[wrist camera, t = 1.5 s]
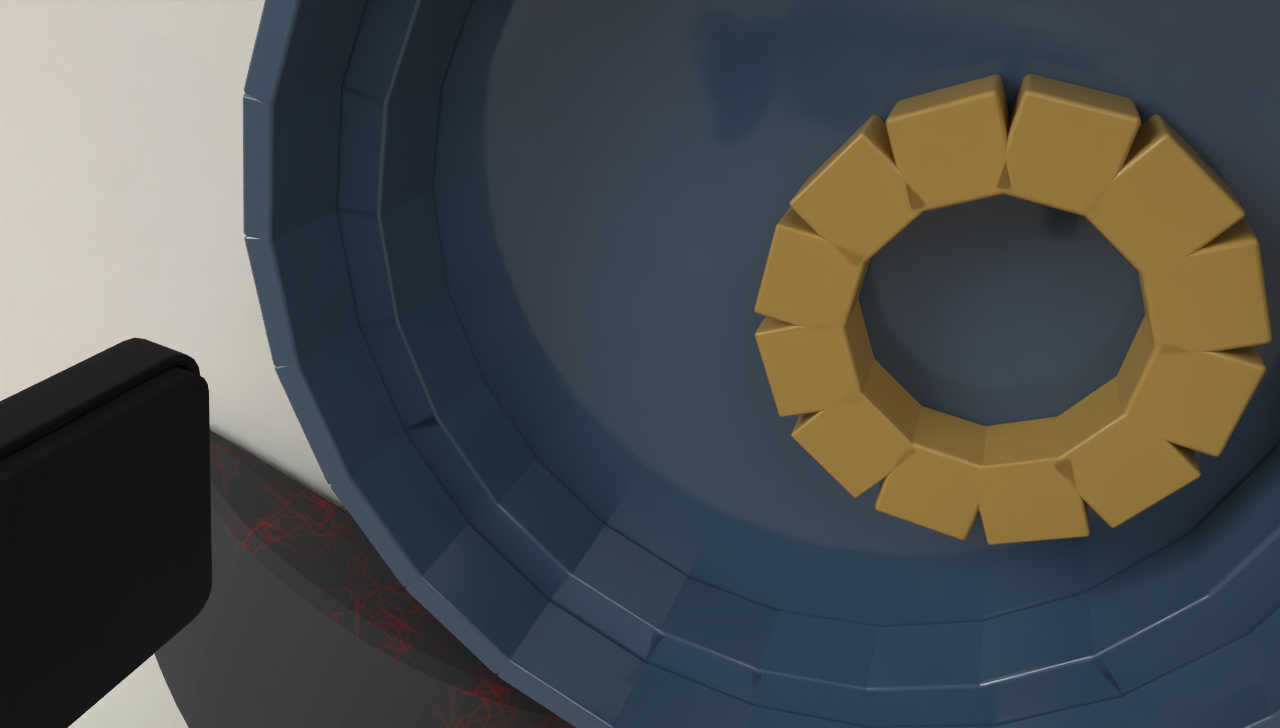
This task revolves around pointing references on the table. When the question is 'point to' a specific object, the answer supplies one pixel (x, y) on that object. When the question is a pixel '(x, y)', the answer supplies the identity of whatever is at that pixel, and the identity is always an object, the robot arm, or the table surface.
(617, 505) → the bowl
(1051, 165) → the ring
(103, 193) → the table surface
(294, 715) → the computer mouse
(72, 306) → the table surface
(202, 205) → the table surface
